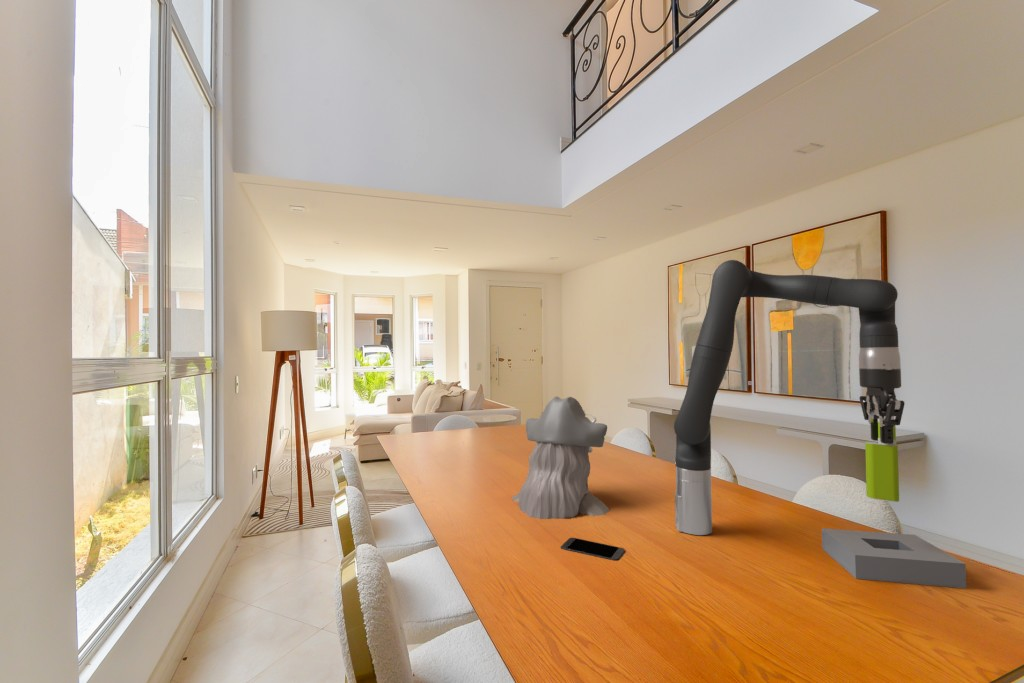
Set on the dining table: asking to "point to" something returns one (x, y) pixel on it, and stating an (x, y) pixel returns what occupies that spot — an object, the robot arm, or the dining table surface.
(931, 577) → the charging dock
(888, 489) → the vape
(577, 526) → the dining table surface
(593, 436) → the bust
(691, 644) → the dining table surface
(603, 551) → the smartphone
